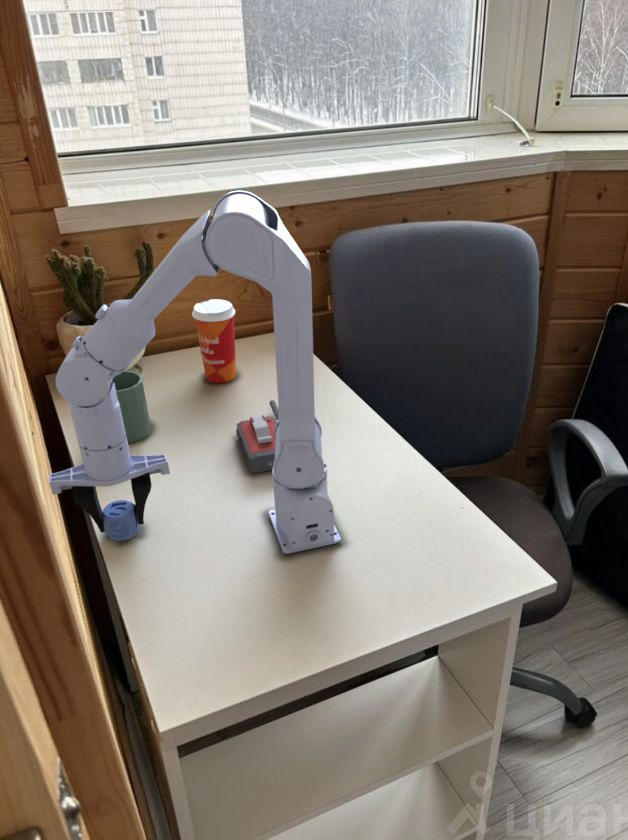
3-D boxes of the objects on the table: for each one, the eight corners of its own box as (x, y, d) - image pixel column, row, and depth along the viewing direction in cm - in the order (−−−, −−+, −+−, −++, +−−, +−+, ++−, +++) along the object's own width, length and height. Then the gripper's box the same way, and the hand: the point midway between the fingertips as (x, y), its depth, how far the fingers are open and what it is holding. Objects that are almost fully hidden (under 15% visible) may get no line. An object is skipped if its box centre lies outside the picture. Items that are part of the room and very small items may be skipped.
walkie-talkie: (307, 468, 112) (278, 407, 127) (306, 444, 109) (276, 385, 125) (251, 479, 109) (228, 415, 125) (248, 454, 107) (225, 392, 122)
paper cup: (192, 375, 137) (182, 305, 129) (226, 363, 142) (219, 294, 134) (215, 390, 132) (206, 318, 125) (250, 377, 137) (243, 306, 129)
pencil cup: (153, 438, 119) (143, 387, 113) (107, 446, 117) (95, 394, 111) (149, 417, 124) (139, 367, 119) (105, 424, 122) (93, 374, 117)
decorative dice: (139, 520, 100) (134, 497, 98) (138, 539, 97) (133, 515, 95) (109, 524, 100) (103, 501, 97) (107, 543, 97) (101, 519, 94)
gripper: (158, 414, 95) (173, 496, 103) (41, 432, 91) (65, 516, 99) (164, 441, 90) (179, 526, 97) (39, 462, 86) (65, 549, 93)
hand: (122, 523), depth 98 cm, fingers closed on decorative dice, 4 cm apart
